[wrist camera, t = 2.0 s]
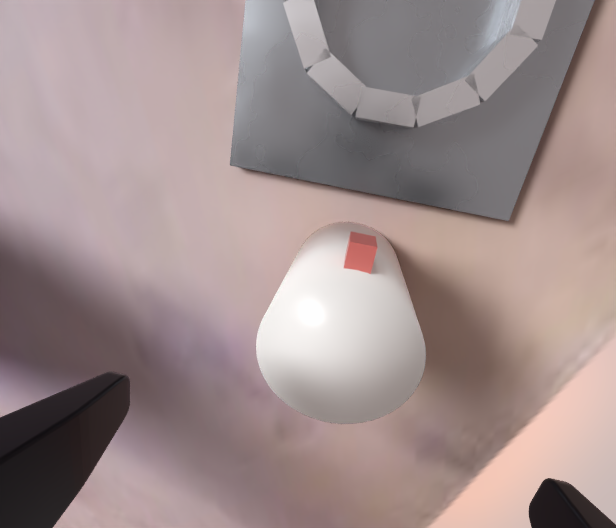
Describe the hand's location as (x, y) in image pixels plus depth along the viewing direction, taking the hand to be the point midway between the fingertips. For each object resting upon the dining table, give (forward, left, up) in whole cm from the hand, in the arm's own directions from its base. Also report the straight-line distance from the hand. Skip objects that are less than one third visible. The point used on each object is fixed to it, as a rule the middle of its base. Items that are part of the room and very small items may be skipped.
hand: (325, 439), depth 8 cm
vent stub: (0, 0, -10) cm, 10 cm away
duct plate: (+11, 0, -10) cm, 15 cm away
